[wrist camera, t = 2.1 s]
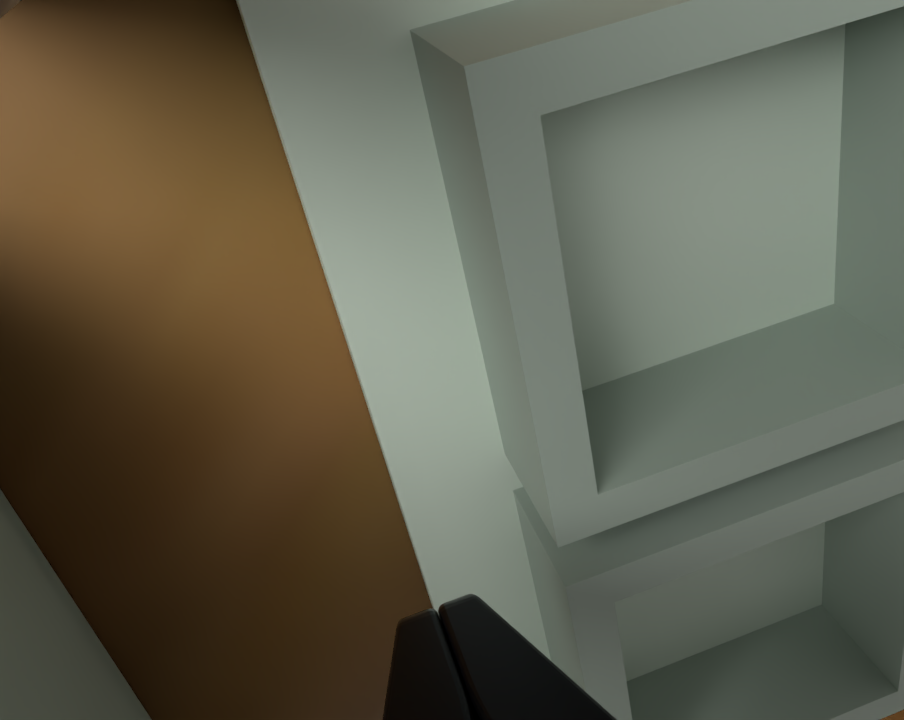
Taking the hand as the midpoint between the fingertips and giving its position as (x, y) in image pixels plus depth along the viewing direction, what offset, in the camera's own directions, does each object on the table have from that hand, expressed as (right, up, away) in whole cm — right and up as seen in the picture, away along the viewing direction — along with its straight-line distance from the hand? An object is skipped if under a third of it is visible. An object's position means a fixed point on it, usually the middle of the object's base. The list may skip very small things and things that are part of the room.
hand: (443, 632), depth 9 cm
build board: (+3, +3, +5) cm, 6 cm away
